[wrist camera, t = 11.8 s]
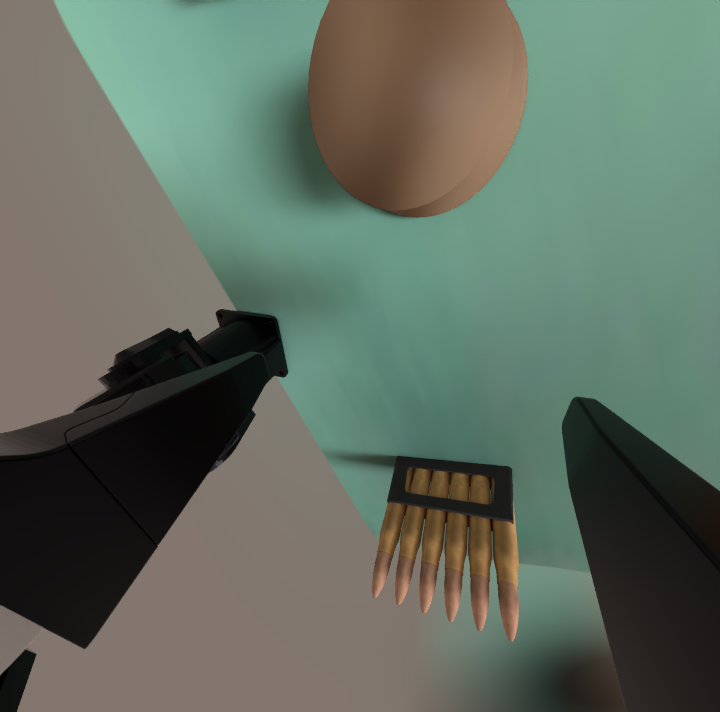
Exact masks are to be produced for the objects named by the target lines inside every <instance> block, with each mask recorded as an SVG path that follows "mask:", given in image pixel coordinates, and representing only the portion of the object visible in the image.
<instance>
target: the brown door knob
mask: <svg viewBox="0 0 720 712" xmlns="http://www.w3.org/2000/svg"><path fill="white" fill-rule="evenodd" d="M527 87H528V65H527V54H526V49H525V44H524V39H523V37H522V34H521V31H520V28H519V25H518V23H517V21H516V19H515V17H514V15H513V13H512V11H511V10H510V8H509V7H508V5H507V2H506V0H330V1H329V3H328V5H327V7H326V10H325V12H324V14H323V17H322V19H321V21H320V25H319V28H318V31H317V34H316V37H315V41H314V46H313V50H312V55H311V61H310V69H309V83H308V97H309V111H310V118H311V124H312V128H313V132H314V137H315V140H316V143H317V146H318V148H319V151H320V153H321V155H322V158H323V160H324V162H325V164H326V165H327V167H328V169H329V170H330V172H331V174H332V175H333V176H334V177H335V179H336V180H337V181H338V183H339V184H340V185H341V186H342V187H343V188H344V189H345V190H346V191H347V192H349V193H350V194H351V195H352V196H354V197H355V198H357V199H358V200H360V201H362V202H364V203H366V204H368V205H371V206H373V207H377V208H381V209H385V210H388V211H391V212H393V213H395V214H399V215H403V216H407V217H429V216H434V215H438V214H441V213H444V212H447V211H449V210H451V209H454V208H456V207H458V206H459V205H461V204H463V203H464V202H466V201H467V200H469V199H470V198H471V197H472V196H474V195H475V194H476V193H477V192H479V191H480V190H481V189H482V188H483V187H484V186H485V185H486V184H487V183H488V181H489V180H490V179H491V178H492V177H493V175H494V174H495V173H496V172H497V170H498V169H499V167H500V166H501V164H502V163H503V161H504V160H505V158H506V156H507V154H508V152H509V150H510V148H511V146H512V145H513V143H514V140H515V138H516V135H517V132H518V130H519V127H520V124H521V120H522V117H523V113H524V109H525V103H526V97H527Z"/></svg>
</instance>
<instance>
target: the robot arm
mask: <svg viewBox="0 0 720 712" xmlns="http://www.w3.org/2000/svg"><path fill="white" fill-rule="evenodd" d="M216 316H217V320H218V323H219V326H220V327H219V328H218V329H216V330H214V331H213V332H211V333H210V334H208V335H207V336H205V337H203V338H202V339H200V340H199V341H197V342H196V340H195V339H194V338H193V337H192V333H191V332H190V331H189V329H186V330H184V331H183V332H181V333H179V332H178V331H174V330H172V329H170V328H167V329H166V330H164V331H162V332H160V333H158V334H156V335H154V336H152V337H150V338H148V339H147V340H144V341H142V342H140V343H138V344H136V345H134V346H132V347H130V348H127V349H125V350H123V351H121V352H119V353H118V354H116V355H115V360H114V364H113V367H111V368H109V369H108V371H109V372H110V373H108V374H106V375H104V376H103V377H101V378H99V379H98V380H99V381H100V382H101V383H102V384H103V385H104V386H105V387H106V388H105V389H104V390H102V391H100V392H99V393H97V394H95V395H94V396H92V397H90V398H89V399H87V400H85V401H84V402H82V403H81V404H79V405H78V406H77V407H76V408H75V410H74V411H73V413H70V414H67V415H64V416H61V417H57V418H54V419H51V420H48V421H44V422H41V423H38V424H35V425H31V426H28V427H25V428H22V429H18V430H15V431H11V432H5V433H0V712H17V709H18V706H19V703H20V701H21V698H22V695H23V692H24V689H25V686H26V683H27V680H28V677H29V675H30V672H31V669H32V666H33V663H34V660H35V657H36V654H35V653H34V652H33V651H31V650H30V649H29V648H27V647H28V646H29V645H30V644H31V642H32V641H33V640H34V639H35V638H36V637H37V636H38V635H39V634H40V633H41V632H42V631H43V630H44V629H47V630H49V631H50V632H53V633H54V634H57V635H58V636H60V637H62V638H64V639H66V640H68V641H70V642H72V643H73V644H75V645H77V646H79V647H81V648H83V649H85V648H87V647H88V645H89V644H90V643H91V642H92V640H93V639H94V638H95V636H96V635H97V634H98V632H99V631H100V629H101V628H102V626H103V625H104V623H105V622H106V621H107V619H108V618H109V616H110V615H111V613H112V612H113V610H114V609H115V608H116V606H117V605H118V603H119V602H120V600H121V599H122V597H123V596H124V594H125V593H126V592H127V590H128V589H129V587H130V586H131V584H132V583H133V582H134V580H135V579H136V577H137V576H138V574H139V573H140V571H141V570H142V569H143V567H144V566H145V564H146V563H147V561H148V560H149V558H150V557H151V556H152V554H153V553H154V551H155V550H156V548H157V547H158V545H159V544H160V542H161V541H162V539H163V538H164V536H165V535H166V534H167V532H168V530H169V529H170V528H171V526H172V525H173V523H174V522H175V520H176V519H177V517H178V516H179V515H180V513H181V512H182V510H183V509H184V508H185V506H186V505H187V503H188V502H189V500H190V499H191V497H192V496H193V494H194V493H195V492H196V490H197V489H198V487H199V486H200V484H201V483H202V482H203V480H204V478H205V477H206V476H207V474H208V473H209V472H211V471H213V470H214V469H215V468H217V467H218V466H219V465H221V464H222V463H223V462H224V461H225V460H226V459H227V458H228V457H229V456H230V455H231V454H232V453H233V451H234V450H235V448H236V447H237V445H238V443H239V442H240V440H241V438H242V437H243V435H244V433H245V432H246V430H247V428H248V427H249V425H250V423H251V422H252V420H253V418H254V417H255V413H254V412H253V410H252V408H253V406H254V404H255V402H256V400H257V399H258V397H259V395H260V393H261V392H262V390H263V388H264V386H265V384H266V383H267V382H268V381H269V380H270V379H271V378H272V377H273V376H278V377H285V376H286V375H287V374H288V369H287V364H286V359H285V354H284V349H283V344H282V340H281V335H280V330H279V325H278V321H277V319H276V318H275V317H273V316H268V315H260V314H253V313H246V312H239V311H231V310H224V309H220V310H218V311H217V312H216ZM271 321H272V322H273V323H271ZM562 435H563V443H564V451H565V459H566V468H567V476H568V483H569V489H570V493H571V497H572V501H573V505H574V509H575V513H576V517H577V521H578V525H579V529H580V532H581V536H582V540H583V544H584V548H585V552H586V556H587V560H588V564H589V567H590V571H591V575H592V579H593V583H594V587H595V591H596V595H597V599H598V603H599V606H600V610H601V614H602V618H603V622H604V626H605V629H606V634H607V638H608V641H609V645H610V649H611V653H612V657H613V661H614V664H615V669H616V673H617V677H618V680H619V684H620V688H621V692H622V696H623V699H624V704H625V708H626V712H720V491H719V490H718V489H716V488H715V487H714V486H712V485H711V484H710V483H708V482H707V481H706V480H704V479H703V478H701V477H700V476H699V475H697V474H696V473H695V472H693V471H692V470H691V469H689V468H688V467H687V466H685V465H684V464H683V463H681V462H680V461H678V460H677V459H676V458H674V457H673V456H672V455H670V454H669V453H668V452H666V451H665V450H664V449H662V448H661V447H660V446H658V445H657V444H655V443H654V442H653V441H651V440H650V439H649V438H647V437H646V436H645V435H643V434H642V433H641V432H639V431H638V430H637V429H635V428H634V427H632V426H631V425H630V424H628V423H627V422H626V421H624V420H623V419H622V418H620V417H619V416H618V415H616V414H615V413H614V412H612V411H611V410H609V409H608V408H607V407H605V406H604V405H603V404H601V403H600V402H599V401H597V400H595V399H592V398H584V397H575V398H573V399H572V401H571V403H570V405H569V408H568V410H567V412H566V415H565V417H564V419H563V423H562Z"/></svg>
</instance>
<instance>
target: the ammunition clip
mask: <svg viewBox="0 0 720 712" xmlns="http://www.w3.org/2000/svg"><path fill="white" fill-rule="evenodd" d="M430 481H431V486H430ZM411 483H412V485H411ZM449 484H450V491H449ZM469 486H470V502H469ZM429 487H430V492H429ZM410 488H411V489H410ZM490 489H491V498H490ZM409 492H410V493H409ZM428 494H429V496H428ZM448 494H449V499H448ZM387 502H388V505H387V509H386V513H385V517H384V520H383V524H382V528H381V532H380V542H379V547H378V551H377V557H376V561H375V566H374V572H373V584H372V591H373V597H374V598H376V597H377V596H378V594H379V593H380V591H381V589H382V587H383V585H384V583H385V580H386V578H387V575H388V572H389V568H390V565H391V560H392V558H393V554H394V550H395V548H396V545H397V543H398V541H399V537H400V533H401V539H400V552H399V560H398V565H397V572H396V582H395V595H396V603H397V605H400V604H401V603H402V601H403V600H404V598H405V595H406V593H407V590H408V588H409V584H410V581H411V577H412V572H413V567H414V563H415V559H416V554H417V551H418V549H419V546H420V542H421V536H422V530H423V524H424V519H425V526H424V532H423V539H422V561H421V572H420V605H421V610H422V613H423V614H425V613H426V612H427V610H428V608H429V606H430V603H431V600H432V597H433V594H434V590H435V585H436V579H437V571H438V567H439V560H440V556H441V553H442V550H443V541H444V532H445V523H447V524H446V536H445V548H444V549H445V582H444V591H445V592H444V594H445V605H446V612H447V616H448V620H449V621H450V622H453V620H454V618H455V616H456V613H457V609H458V606H459V601H460V596H461V588H462V576H463V568H464V561H465V557H466V551H467V529H468V527H469V541H468V555H469V562H470V577H471V602H472V610H473V616H474V620H475V624H476V627H477V629H478V631H480V632H481V631H482V629H483V627H484V624H485V621H486V616H487V611H488V602H489V581H490V566H491V560H492V545H491V531H493V557H494V563H495V567H496V574H497V584H498V596H499V605H500V611H501V616H502V620H503V624H504V628H505V631H506V634H507V636H508V639H509V641H511V642H513V640H514V638H515V634H516V631H517V623H518V610H519V605H518V604H519V602H518V568H519V560H518V549H517V537H516V526H515V515H514V504H513V484H512V469H511V468H510V467H507V466H497V465H486V464H476V463H466V462H455V461H445V460H434V459H424V458H414V457H403V456H398V457H397V459H396V464H395V468H394V473H393V477H392V482H391V486H390V491H389V495H388V499H387ZM404 515H405V518H404ZM403 519H404V523H403ZM402 524H403V527H402ZM401 528H402V532H401Z"/></svg>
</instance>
